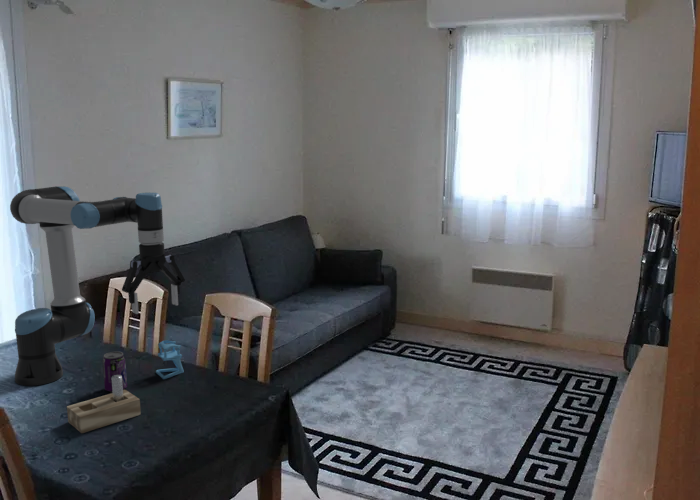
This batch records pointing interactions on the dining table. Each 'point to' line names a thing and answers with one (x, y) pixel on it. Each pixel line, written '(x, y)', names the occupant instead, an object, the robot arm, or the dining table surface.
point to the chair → (170, 358)
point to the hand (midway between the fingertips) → (155, 308)
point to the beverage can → (114, 369)
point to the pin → (117, 388)
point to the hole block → (102, 411)
